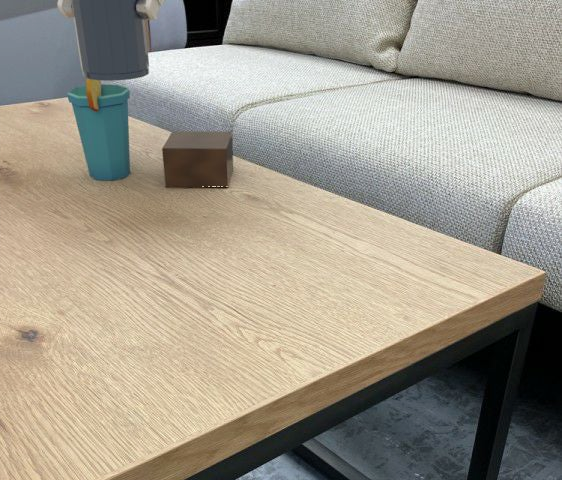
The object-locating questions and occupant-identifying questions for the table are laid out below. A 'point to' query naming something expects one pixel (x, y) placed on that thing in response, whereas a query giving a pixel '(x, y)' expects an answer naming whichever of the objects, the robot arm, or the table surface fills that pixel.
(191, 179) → the walnut block
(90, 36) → the slate cup
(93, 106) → the cup
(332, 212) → the table surface
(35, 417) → the table surface
